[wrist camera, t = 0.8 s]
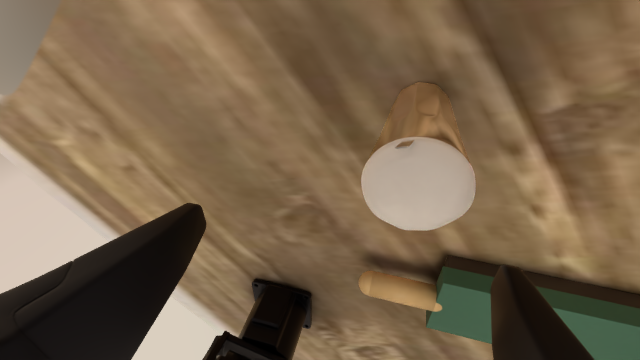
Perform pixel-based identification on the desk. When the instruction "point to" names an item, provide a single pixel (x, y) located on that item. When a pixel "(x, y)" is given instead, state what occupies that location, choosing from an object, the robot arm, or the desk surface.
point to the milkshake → (419, 163)
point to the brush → (475, 305)
